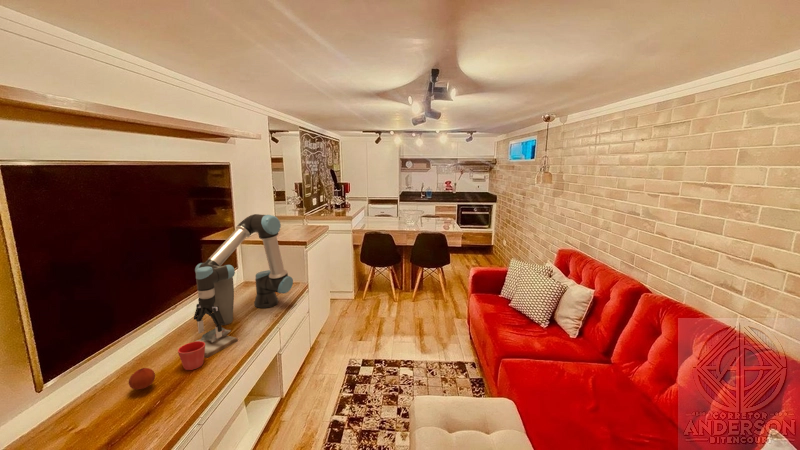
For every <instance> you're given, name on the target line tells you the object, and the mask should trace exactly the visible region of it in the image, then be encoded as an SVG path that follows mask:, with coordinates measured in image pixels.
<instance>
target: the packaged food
mask: <svg viewBox="0 0 800 450" xmlns="http://www.w3.org/2000/svg"><path fill="white" fill-rule="evenodd" d="M231 331H232V330H231V329H225V328H224V327H222V336H221V337H223V336H225V335H228V334H229V333H230V332H231ZM221 337H219V338H221ZM219 338H216V328H213V329H211V330H209V331H207V332H205V333H203V334H202V335H201V338H200V339H201V340H209V341H211V342H214V341H216V340H218V339H219Z"/></svg>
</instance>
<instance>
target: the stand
mask: <svg viewBox="0 0 800 450" xmlns="http://www.w3.org/2000/svg"><path fill="white" fill-rule="evenodd" d="M197 341H201V342H204V343H205V353H204V358H210V357H212V356H213V355H215V354H217V353H219V352H221V351H222V350H224V349H226V348H228V347H230V346H231V345H233V344H235V343H237V342H238V338H237V337H234V336H231V335H228V334H226V335H225V336H223V337H221V338H219V339H218V340H216V341H214V342H211V341H209V340H201V338H200V339H197V340H195V341H194V342H197Z"/></svg>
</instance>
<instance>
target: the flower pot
mask: <svg viewBox="0 0 800 450" xmlns="http://www.w3.org/2000/svg"><path fill="white" fill-rule="evenodd" d="M196 341H197V340H196ZM204 353H205V343H204V342H201V341H197V342H195V341H193V342H188V343H185V344H183V345H181V346H180V347H178V349H177V354H178V356H179V358H180V361H181V364H182V366H183V369H184V370H185V371H192V370H196V369H198V368H201V367H202V366H203V364H204V359H205V357H204Z"/></svg>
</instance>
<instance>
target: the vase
mask: <svg viewBox="0 0 800 450" xmlns="http://www.w3.org/2000/svg"><path fill="white" fill-rule="evenodd" d="M234 286H235V285H234V276H233V277H231V278H229V279H226V280H223V281H220V282H217V283H214V290H215V295H214V296H215V303H214V307H217V306H218V307H219V311H220V313H221V316H222V318H223V320H224V323H225V324H223V325H222V326H226V325H230V324H232V323H233V320H234V302H235V301H234V300H235V299H234V298H235V289H234V288H235V287H234ZM213 313H214V312H213ZM213 323H214V324H215V322H214V321H213Z"/></svg>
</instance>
